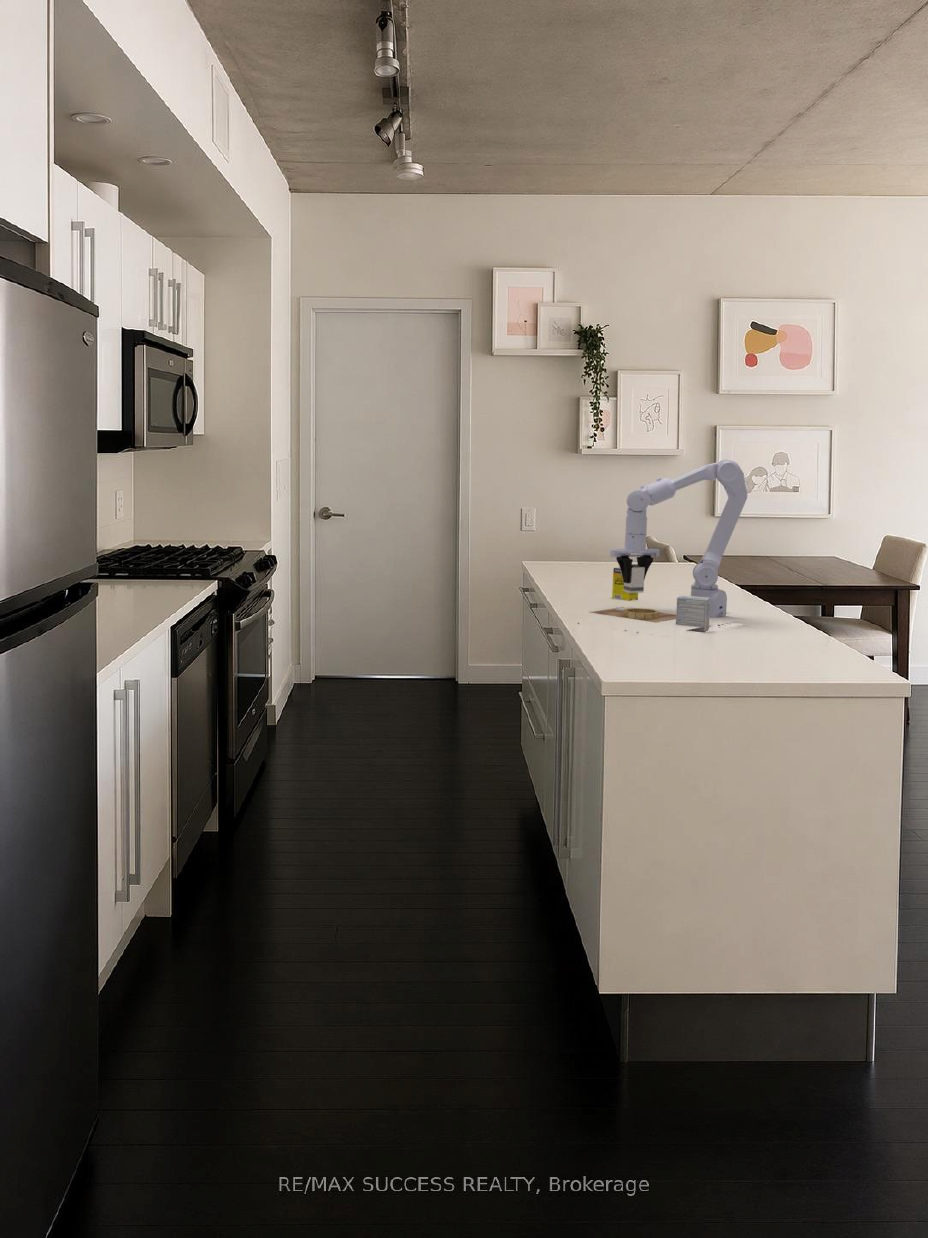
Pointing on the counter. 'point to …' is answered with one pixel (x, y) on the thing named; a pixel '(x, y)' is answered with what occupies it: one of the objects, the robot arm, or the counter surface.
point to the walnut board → (621, 614)
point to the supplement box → (621, 587)
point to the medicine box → (693, 612)
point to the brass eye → (641, 613)
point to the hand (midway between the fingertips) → (633, 582)
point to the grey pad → (623, 609)
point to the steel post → (635, 579)
